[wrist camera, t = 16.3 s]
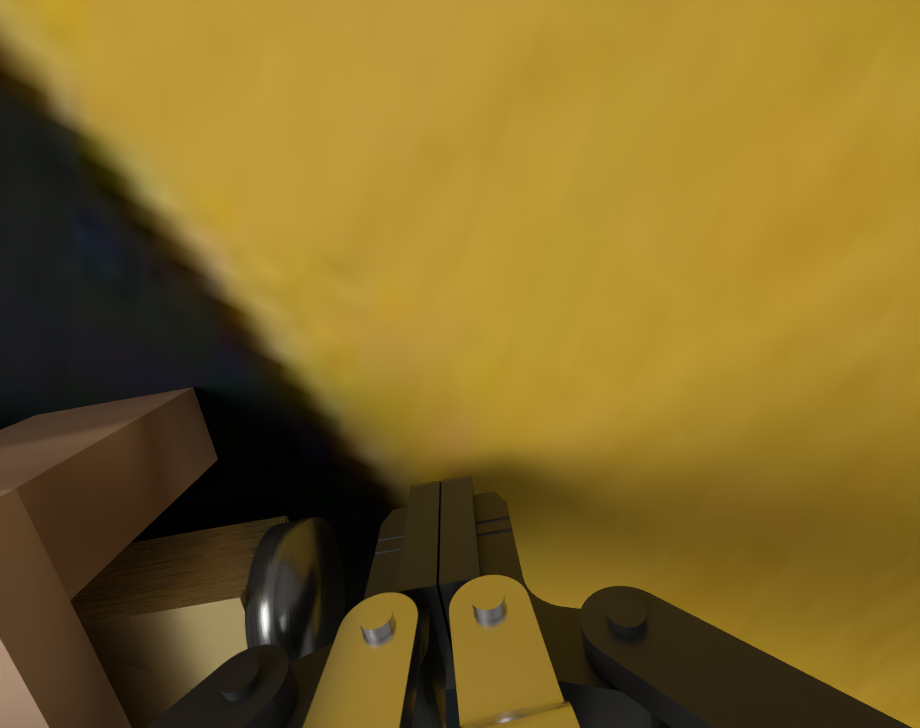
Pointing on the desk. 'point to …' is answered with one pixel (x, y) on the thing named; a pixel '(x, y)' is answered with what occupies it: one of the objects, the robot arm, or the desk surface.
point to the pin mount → (80, 540)
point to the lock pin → (209, 605)
